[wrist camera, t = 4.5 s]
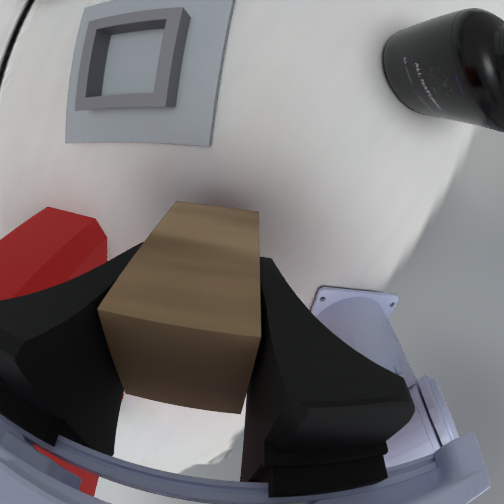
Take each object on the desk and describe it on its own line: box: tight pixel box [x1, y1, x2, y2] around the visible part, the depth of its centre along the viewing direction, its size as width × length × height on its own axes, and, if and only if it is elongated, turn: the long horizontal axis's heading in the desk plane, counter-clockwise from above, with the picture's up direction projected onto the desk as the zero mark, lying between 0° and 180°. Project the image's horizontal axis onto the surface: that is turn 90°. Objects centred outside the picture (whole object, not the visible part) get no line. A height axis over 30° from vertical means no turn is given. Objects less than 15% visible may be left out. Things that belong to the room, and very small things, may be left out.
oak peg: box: [97, 201, 261, 414], centre depth 9 cm, size 4×4×7 cm
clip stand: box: [65, 0, 235, 146], centre depth 12 cm, size 11×11×3 cm
